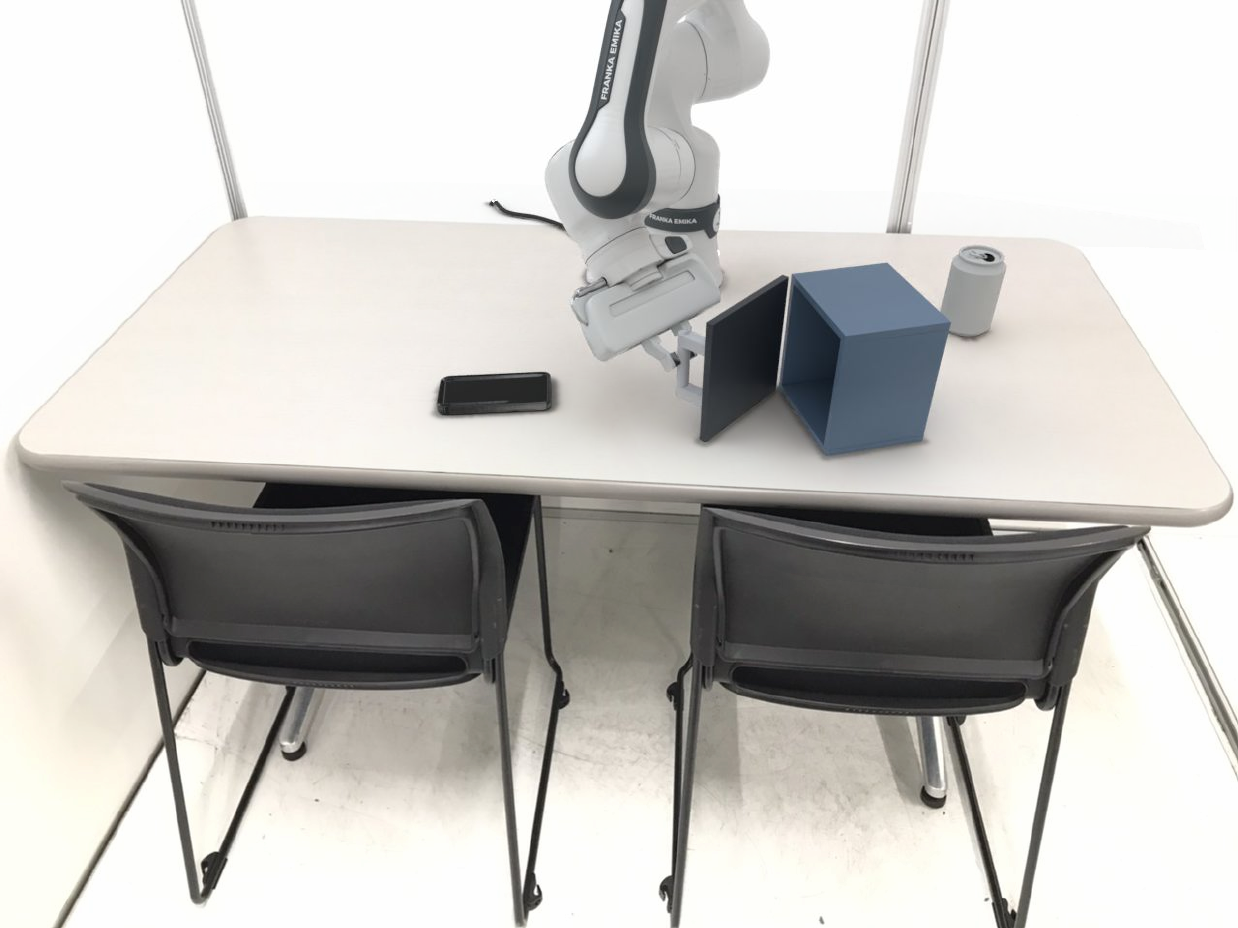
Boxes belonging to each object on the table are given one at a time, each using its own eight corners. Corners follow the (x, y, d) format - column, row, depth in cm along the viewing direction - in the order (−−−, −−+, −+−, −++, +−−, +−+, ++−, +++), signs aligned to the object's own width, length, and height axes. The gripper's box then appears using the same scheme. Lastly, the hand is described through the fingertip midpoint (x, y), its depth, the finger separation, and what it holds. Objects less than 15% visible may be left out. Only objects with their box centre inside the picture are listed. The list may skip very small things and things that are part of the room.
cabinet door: (666, 423, 118) (669, 308, 107) (738, 372, 127) (747, 262, 117) (705, 442, 114) (713, 325, 104) (776, 388, 124) (789, 276, 113)
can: (992, 341, 133) (1013, 266, 126) (939, 337, 134) (956, 262, 127) (986, 317, 139) (1006, 243, 132) (935, 312, 140) (952, 239, 133)
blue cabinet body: (825, 456, 112) (845, 336, 101) (778, 387, 124) (791, 273, 114) (922, 441, 114) (951, 322, 104) (866, 375, 126) (887, 262, 116)
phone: (441, 376, 125) (550, 371, 126) (442, 383, 126) (551, 378, 126) (436, 408, 119) (550, 403, 119) (437, 415, 119) (551, 410, 120)
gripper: (575, 283, 105) (635, 387, 105) (696, 231, 116) (750, 326, 116) (553, 305, 110) (609, 404, 110) (670, 254, 121) (722, 344, 121)
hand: (682, 363), depth 113 cm, fingers closed on cabinet door, 2 cm apart
